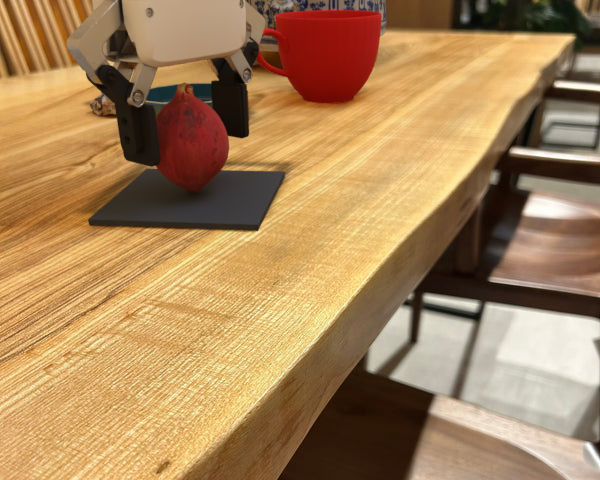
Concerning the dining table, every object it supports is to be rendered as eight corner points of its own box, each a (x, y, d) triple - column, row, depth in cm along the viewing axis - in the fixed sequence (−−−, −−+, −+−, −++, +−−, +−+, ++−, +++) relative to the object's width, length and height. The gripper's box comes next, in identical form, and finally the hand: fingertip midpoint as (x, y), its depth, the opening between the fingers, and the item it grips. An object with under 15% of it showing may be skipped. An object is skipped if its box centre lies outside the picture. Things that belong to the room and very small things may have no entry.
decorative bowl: (372, 79, 94) (376, -35, 87) (201, 76, 99) (192, -32, 92) (393, 44, 131) (397, -39, 124) (267, 43, 136) (264, -36, 129)
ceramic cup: (233, 100, 83) (227, 15, 78) (341, 86, 90) (342, 8, 85) (281, 118, 73) (278, 23, 68) (399, 100, 80) (403, 13, 75)
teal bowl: (120, 138, 66) (115, 103, 64) (158, 112, 77) (154, 82, 75) (235, 139, 65) (233, 104, 63) (257, 113, 75) (256, 82, 74)
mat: (88, 225, 44) (87, 218, 44) (147, 174, 55) (146, 168, 55) (258, 231, 43) (257, 224, 43) (285, 177, 53) (284, 171, 53)
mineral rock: (164, 94, 75) (93, 78, 72) (159, 131, 76) (88, 118, 73) (155, 82, 84) (91, 68, 81) (150, 116, 85) (87, 103, 82)
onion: (234, 202, 47) (226, 89, 43) (154, 208, 46) (139, 93, 42) (229, 178, 52) (222, 75, 48) (157, 183, 51) (143, 78, 47)
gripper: (217, -121, 47) (232, 119, 55) (-5, -143, 35) (57, 168, 43) (298, -130, 43) (301, 131, 51) (78, -159, 31) (129, 188, 39)
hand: (190, 147), depth 47 cm, fingers open, 8 cm apart
